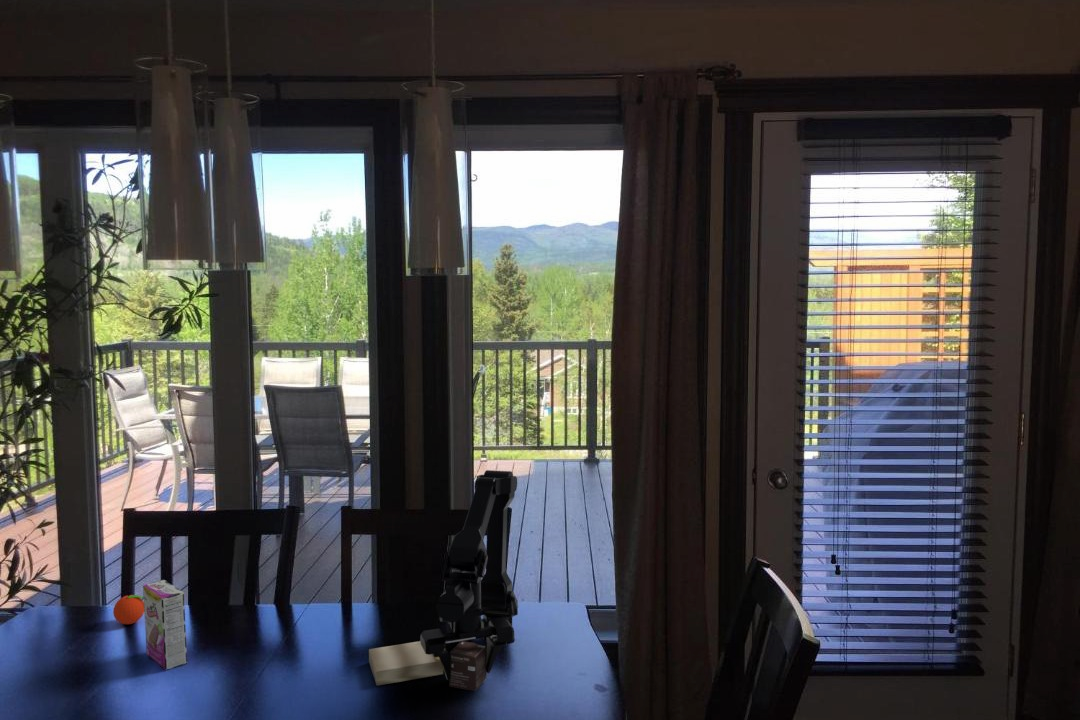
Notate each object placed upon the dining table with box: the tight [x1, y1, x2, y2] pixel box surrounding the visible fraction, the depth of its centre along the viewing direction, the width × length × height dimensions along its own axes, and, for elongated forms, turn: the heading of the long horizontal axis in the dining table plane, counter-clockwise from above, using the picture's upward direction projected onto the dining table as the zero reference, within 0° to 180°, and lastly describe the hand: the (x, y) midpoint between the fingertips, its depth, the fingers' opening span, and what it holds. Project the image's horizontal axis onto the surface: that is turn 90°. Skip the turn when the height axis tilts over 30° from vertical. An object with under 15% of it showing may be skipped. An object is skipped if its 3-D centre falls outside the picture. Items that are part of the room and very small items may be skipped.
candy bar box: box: [142, 579, 188, 671], centre depth 172 cm, size 11×5×16 cm, turn 47°
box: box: [448, 641, 488, 692], centre depth 161 cm, size 6×6×7 cm
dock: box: [368, 640, 444, 686], centre depth 168 cm, size 14×11×3 cm
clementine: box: [112, 594, 145, 625], centre depth 192 cm, size 8×7×7 cm
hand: (468, 675), depth 161 cm, fingers closed on box, 8 cm apart
